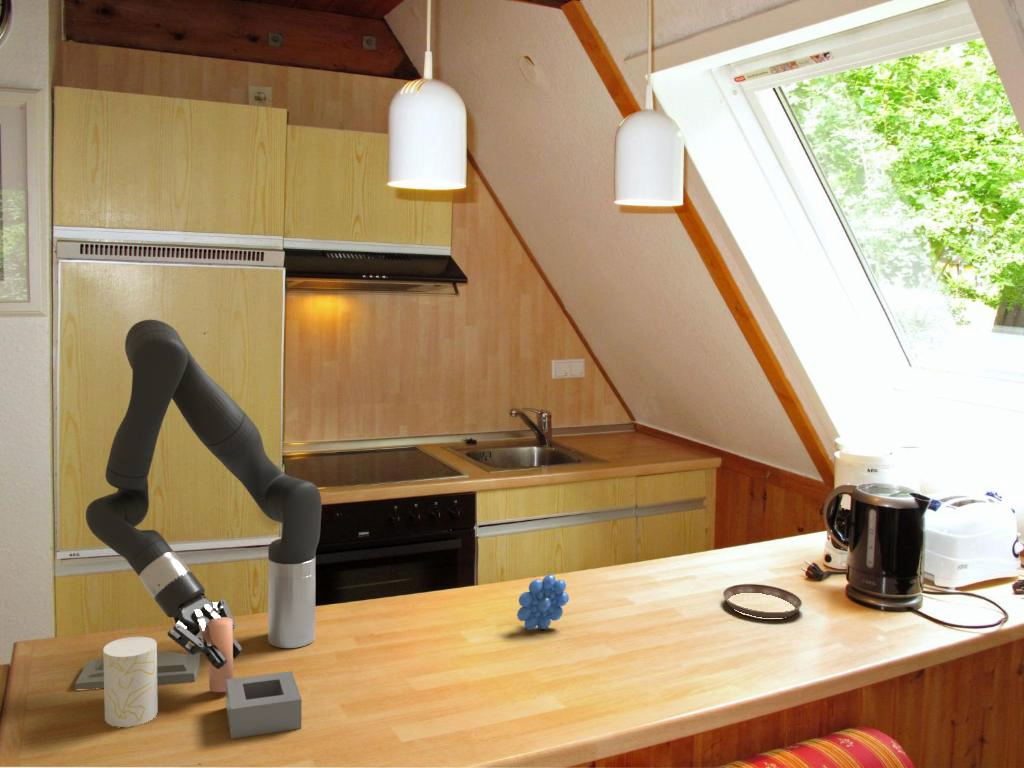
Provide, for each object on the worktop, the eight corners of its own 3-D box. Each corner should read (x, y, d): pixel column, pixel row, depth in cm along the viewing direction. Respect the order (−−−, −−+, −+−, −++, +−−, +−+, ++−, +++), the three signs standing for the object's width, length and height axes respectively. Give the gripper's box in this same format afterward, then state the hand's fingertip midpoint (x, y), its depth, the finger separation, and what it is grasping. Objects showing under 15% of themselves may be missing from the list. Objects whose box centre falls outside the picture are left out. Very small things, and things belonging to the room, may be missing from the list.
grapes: (559, 619, 199) (561, 566, 197) (571, 631, 192) (574, 576, 191) (509, 624, 195) (511, 571, 193) (520, 637, 188) (522, 581, 187)
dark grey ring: (790, 630, 198) (791, 617, 197) (712, 612, 207) (712, 599, 206) (809, 606, 213) (810, 593, 213) (735, 590, 222) (735, 578, 221)
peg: (208, 683, 160) (207, 618, 159) (232, 680, 162) (231, 616, 160) (210, 693, 157) (209, 627, 155) (234, 690, 158) (233, 624, 157)
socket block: (226, 707, 154) (226, 679, 154) (291, 698, 158) (292, 671, 158) (231, 738, 144) (231, 709, 144) (301, 728, 148) (301, 699, 148)
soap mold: (87, 669, 168) (87, 651, 168) (200, 662, 173) (200, 644, 173) (75, 694, 158) (74, 675, 158) (195, 685, 163) (195, 667, 163)
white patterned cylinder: (104, 731, 145) (102, 659, 144) (105, 708, 153) (103, 640, 151) (158, 722, 149) (157, 652, 147) (156, 700, 156) (155, 633, 154)
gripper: (156, 584, 152) (218, 665, 150) (209, 559, 166) (267, 633, 164) (131, 610, 155) (191, 689, 153) (186, 583, 168) (242, 656, 166)
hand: (230, 660), depth 158 cm, fingers closed on peg, 4 cm apart
